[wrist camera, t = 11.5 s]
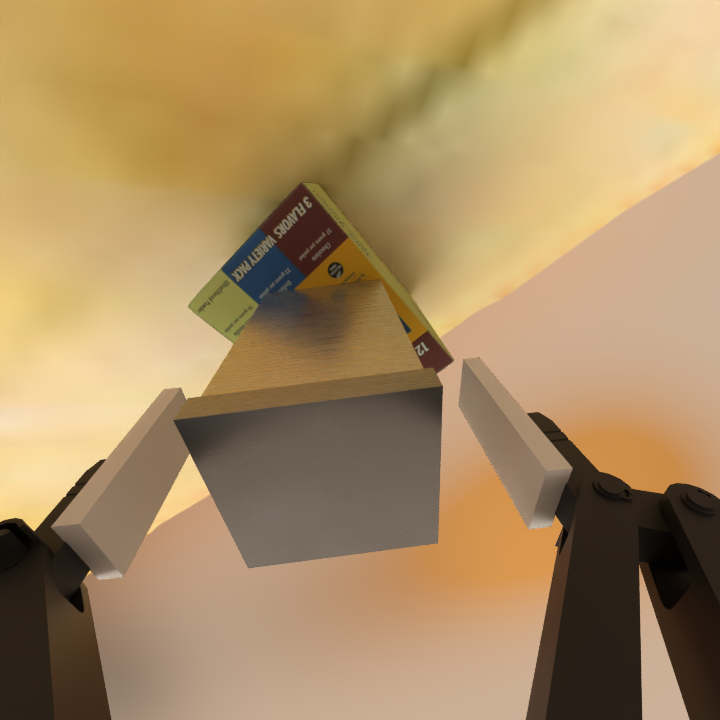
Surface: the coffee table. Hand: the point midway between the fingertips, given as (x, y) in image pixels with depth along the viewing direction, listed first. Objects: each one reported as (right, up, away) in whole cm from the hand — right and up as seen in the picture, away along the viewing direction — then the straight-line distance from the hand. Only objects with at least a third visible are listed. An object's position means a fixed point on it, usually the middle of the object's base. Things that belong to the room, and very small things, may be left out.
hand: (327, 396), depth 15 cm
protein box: (-1, +11, +20) cm, 23 cm away
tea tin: (0, +3, +6) cm, 7 cm away
